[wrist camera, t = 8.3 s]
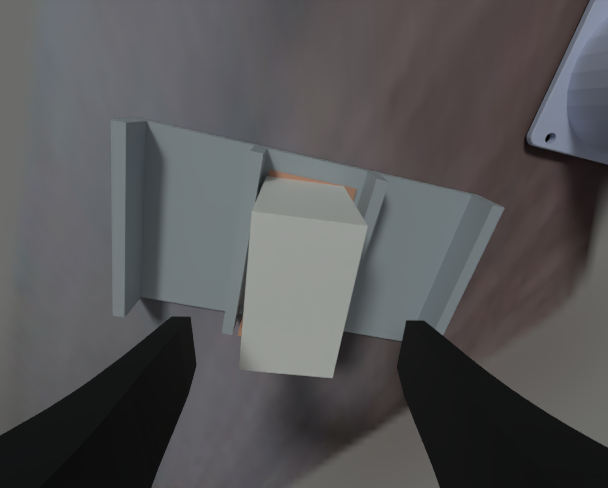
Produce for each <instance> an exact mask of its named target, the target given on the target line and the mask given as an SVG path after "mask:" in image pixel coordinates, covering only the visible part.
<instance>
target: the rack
mask: <svg viewBox="0 0 608 488" xmlns="http://www.w3.org/2000/svg"><path fill="white" fill-rule="evenodd" d="M111 175H112V284H113V316H119V317H125V316H126V315H127V314H128V312H129V311H130V310H131V309H132V308H133V306H134V305H135V304H136V303H137V301H138V300H139V299H140V298H141V297H144V298H149V299H155V300H161V301H167V302H173V303H179V304H185V305H191V306H197V307H203V308H208V309H214V310H220V311H225V315H224V322H223V329H222V333H224V334H230V335H233V332H234V328H235V325H236V321H237V317H238V314H243V312H244V300H245V288H246V275H247V263H248V251H249V238H250V226H251V214H252V209H253V207H254V205H255V202H256V200H257V198H258V195H259V193H260V190H261V188H262V186H263V183H264V181H265V179H266V176H271V177H278V178H286V179H293V180H300V181H308V182H315V183H322V184H330V185H337V186H344V187H345V189H346V191H347V192H348V194H349V196H350V197H351V199H352V201H353V202H354V204H355V206H356V207H357V209H358V211H359V212H360V214H361V216H362V217H363V219H364V220H365V222H366V224H367V225H368V228H367V232H366V236H365V240H364V245H363V249H362V253H361V258H360V262H359V266H358V271H357V275H356V279H355V283H354V288H353V292H352V296H351V301H350V305H349V309H348V314H347V318H346V322H345V326H344V332H350V333H356V334H362V335H368V336H374V337H380V338H386V339H392V340H398V341H402V339H403V334H404V329H405V323H406V320H423V321H425V322H427V323H428V324H429V325H431V326H432V327H433V328H434V329H435V330H437V331H438V332H439V333H440V334H441V335H443V334H444V332H445V330H446V328H447V326H448V324H449V322H450V320H451V318H452V316H453V314H454V312H455V309H456V307H457V305H458V303H459V301H460V299H461V297H462V295H463V293H464V291H465V289H466V287H467V285H468V283H469V281H470V278H471V276H472V274H473V272H474V270H475V268H476V266H477V264H478V262H479V260H480V258H481V256H482V254H483V252H484V249H485V247H486V245H487V243H488V241H489V239H490V237H491V235H492V233H493V231H494V229H495V227H496V225H497V223H498V221H499V218H500V216H501V214H502V212H503V210H504V207H502V206H500V205H498V204H496V203H494V202H491V201H489V200H487V199H485V198H483V197H481V196H479V195H477V194H472V193H468V192H463V191H459V190H455V189H450V188H446V187H441V186H437V185H433V184H428V183H424V182H419V181H415V180H411V179H406V178H402V177H397V176H393V175H389V174H384V173H380V172H375V171H371V170H367V169H362V168H358V167H353V166H349V165H345V164H340V163H336V162H331V161H327V160H323V159H318V158H314V157H309V156H305V155H301V154H296V153H292V152H287V151H283V150H279V149H274V148H270V147H265V146H261V145H257V144H252V143H248V142H243V141H239V140H235V139H230V138H226V137H221V136H217V135H213V134H208V133H204V132H199V131H195V130H191V129H186V128H182V127H177V126H173V125H169V124H164V123H160V122H155V121H151V120H146V119H142V118H125V119H111ZM242 325H243V316H242V320H241V324H240V328H239V333H238V336H242Z"/></svg>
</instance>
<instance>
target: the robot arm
mask: <svg viewBox="0 0 608 488" xmlns="http://www.w3.org/2000/svg"><path fill="white" fill-rule="evenodd" d="M548 134H550V139H549V140H548V142H545V138H546V136H547V135H548ZM527 142H528V144H530V145H532V146H535V147H539V148H543V149H547V150H551V151H555V152H559V153H563V154H567V155H571V156H575V157H579V158H583V159H587V160H591V161H595V162H599V163H603V164H607V165H608V0H590V1H589V3H588V6H587V8H586V10H585V12H584V14H583V16H582V18H581V20H580V23H579V25H578V27H577V29H576V31H575V33H574V35H573V38H572V40H571V42H570V44H569V46H568V48H567V50H566V53H565V55H564V57H563V59H562V61H561V63H560V65H559V67H558V70H557V72H556V74H555V76H554V78H553V80H552V82H551V85H550V87H549V89H548V91H547V93H546V95H545V97H544V99H543V102H542V104H541V106H540V108H539V110H538V112H537V114H536V117H535V119H534V121H533V123H532V125H531V127H530V129H529V131H528V134H527ZM195 369H196V357H195V349H194V341H193V333H192V325H191V317H171V318H169V319H168V320H167V321H165V322H164V323H163V324H162V325H161V326H159V327H158V328H157V329H156V330H155V331H153V332H152V333H151V334H150V335H149V336H147V337H146V338H145V339H144V340H142V341H141V342H140V343H139V344H137V345H136V346H135V347H134V348H132V349H131V350H130V351H129V352H128V353H126V354H125V355H124V356H122V357H121V358H120V359H119V360H117V361H116V362H114V363H113V364H112V365H110V366H109V367H108V368H106V369H105V370H104V371H102V372H101V373H100V374H98V375H97V376H96V377H94V378H93V379H92V380H90V381H89V382H87V383H86V384H84V385H83V386H82V387H80V388H79V389H77V390H76V391H74V392H73V393H71V394H70V395H68V396H66V397H65V398H63V399H62V400H60V401H59V402H57V403H55V404H54V405H52V406H51V407H49V408H47V409H46V410H44V411H42V412H41V413H39V414H37V415H36V416H34V417H32V418H30V419H29V420H27V421H25V422H23V423H22V424H20V425H18V426H16V427H14V428H13V429H11V430H9V431H7V432H6V433H4V434H2V435H0V488H151V487H152V484H153V481H154V479H155V476H156V473H157V470H158V468H159V465H160V463H161V460H162V458H163V455H164V453H165V451H166V448H167V446H168V443H169V441H170V439H171V436H172V434H173V431H174V429H175V426H176V424H177V422H178V419H179V417H180V414H181V412H182V409H183V407H184V404H185V402H186V399H187V397H188V394H189V391H190V387H191V384H192V380H193V376H194V372H195ZM397 369H398V373H399V377H400V381H401V385H402V389H403V392H404V396H405V399H406V401H407V404H408V406H409V409H410V411H411V414H412V417H413V419H414V422H415V424H416V427H417V429H418V431H419V434H420V436H421V439H422V442H423V444H424V446H425V449H426V451H427V454H428V456H429V459H430V461H431V464H432V466H433V469H434V472H435V475H436V478H437V480H438V483H439V486H440V488H608V448H607V447H605V446H604V445H602V444H600V443H598V442H596V441H594V440H593V439H591V438H589V437H587V436H585V435H584V434H582V433H580V432H578V431H577V430H575V429H573V428H572V427H570V426H568V425H566V424H565V423H563V422H561V421H560V420H558V419H556V418H555V417H553V416H551V415H550V414H548V413H546V412H545V411H544V410H542V409H540V408H539V407H537V406H536V405H534V404H533V403H531V402H530V401H528V400H526V399H525V398H523V397H522V396H520V395H519V394H518V393H516V392H515V391H513V390H512V389H510V388H509V387H508V386H506V385H505V384H503V383H502V382H501V381H499V380H498V379H497V378H495V377H494V376H493V375H491V374H490V373H488V372H487V371H486V370H485V369H483V368H482V367H481V366H479V365H478V364H477V363H476V362H474V361H473V360H472V359H471V358H469V357H468V356H467V355H466V354H464V353H463V352H462V351H461V350H460V349H458V348H457V347H456V346H455V345H453V344H452V343H451V342H450V341H449V340H447V339H446V338H445V337H444V336H443V335H441V334H440V333H439V332H438V331H437V330H435V329H434V328H433V327H432V326H431V325H429V324H428V323H427V322H425V321H423V320H406V323H405V329H404V334H403V339H402V344H401V349H400V354H399V359H398V365H397Z"/></svg>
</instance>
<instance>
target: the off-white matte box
mask: <svg viewBox="0 0 608 488" xmlns="http://www.w3.org/2000/svg"><path fill="white" fill-rule="evenodd" d="M367 228H368V225H367V224H366V222H365V220H364V219H363V217H362V216H361V214H360V212H359V211H358V209H357V207H356V206H355V204H354V202H353V201H352V199H351V197H350V196H349V194H348V192H347V191H346V189H345V187H344V186H337V185H330V184H322V183H315V182H308V181H300V180H293V179H286V178H278V177H271V176H266V179H265V181H264V183H263V186H262V188H261V190H260V193H259V195H258V198H257V200H256V202H255V205H254V207H253V209H252V214H251V226H250V238H249V251H248V263H247V275H246V288H245V300H244V312H243V325H242V337H241V349H240V362H239V370H247V371H258V372H269V373H280V374H292V375H303V376H314V377H325V378H333V374H334V369H335V365H336V361H337V357H338V352H339V348H340V344H341V339H342V335H343V331H344V326H345V322H346V318H347V314H348V309H349V305H350V301H351V296H352V292H353V288H354V283H355V279H356V275H357V271H358V266H359V262H360V258H361V253H362V249H363V245H364V240H365V236H366V232H367Z"/></svg>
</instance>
